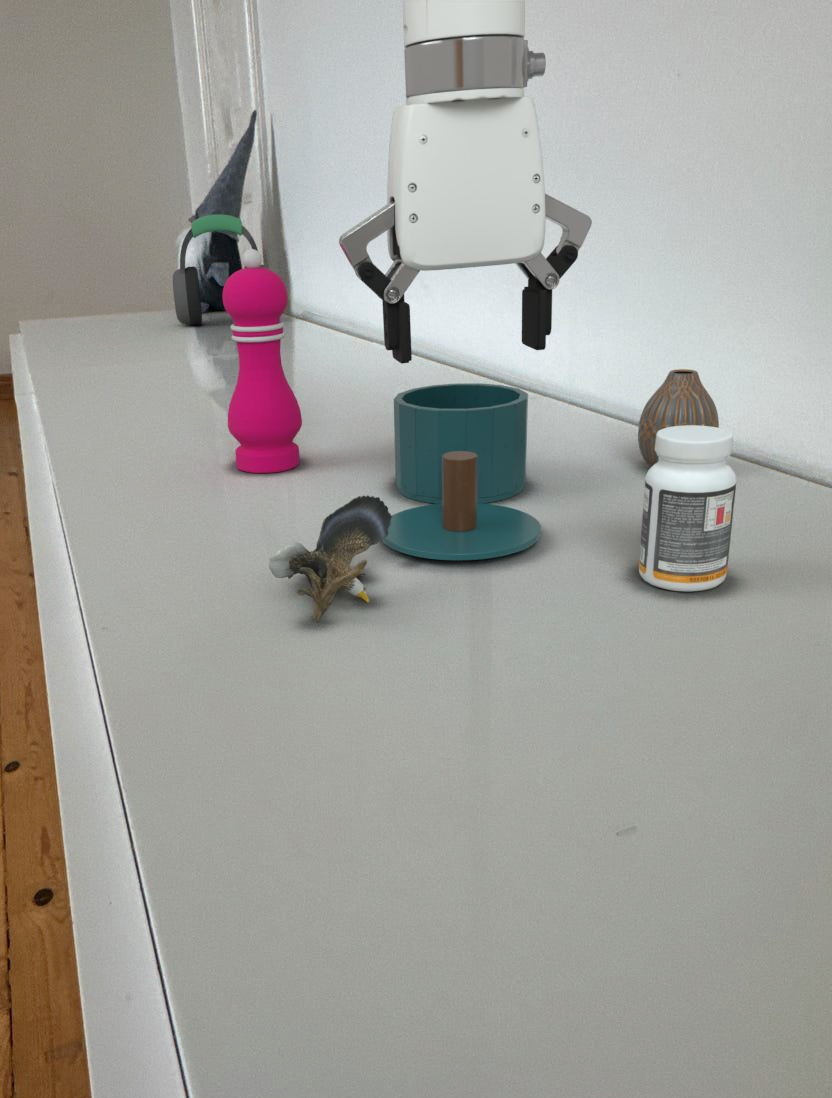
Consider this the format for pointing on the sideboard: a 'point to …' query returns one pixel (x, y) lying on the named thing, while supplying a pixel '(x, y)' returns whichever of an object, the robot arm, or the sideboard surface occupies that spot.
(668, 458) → the pill bottle
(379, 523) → the eagle figurine
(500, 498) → the pot
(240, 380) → the pepper mill
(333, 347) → the sideboard surface
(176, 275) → the headphones
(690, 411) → the vase
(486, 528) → the lid
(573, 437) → the sideboard surface
